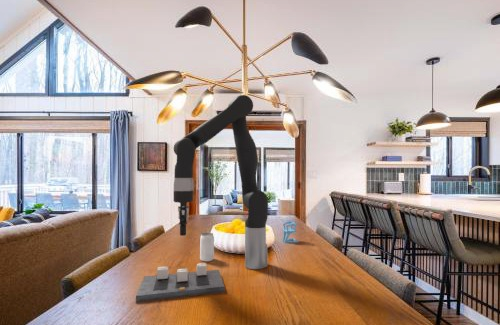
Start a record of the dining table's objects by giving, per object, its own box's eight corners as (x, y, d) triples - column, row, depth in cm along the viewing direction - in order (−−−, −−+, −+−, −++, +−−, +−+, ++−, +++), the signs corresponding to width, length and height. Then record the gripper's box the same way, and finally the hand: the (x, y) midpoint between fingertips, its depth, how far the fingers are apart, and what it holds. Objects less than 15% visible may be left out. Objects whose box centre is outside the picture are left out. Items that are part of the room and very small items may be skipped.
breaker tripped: (187, 278, 93) (187, 267, 93) (187, 280, 91) (187, 269, 91) (177, 279, 92) (177, 268, 92) (177, 281, 90) (177, 270, 90)
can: (211, 262, 117) (211, 235, 118) (197, 261, 118) (198, 235, 119) (215, 257, 124) (215, 232, 124) (203, 257, 125) (203, 232, 125)
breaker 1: (168, 275, 95) (168, 265, 95) (167, 278, 93) (167, 267, 93) (157, 276, 94) (158, 266, 94) (157, 279, 92) (157, 268, 92)
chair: (280, 240, 156) (280, 220, 157) (293, 239, 158) (293, 220, 159) (285, 243, 149) (285, 223, 150) (298, 242, 151) (298, 222, 152)
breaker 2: (206, 272, 98) (206, 262, 99) (206, 274, 96) (206, 264, 96) (196, 273, 98) (196, 262, 98) (196, 275, 95) (196, 265, 95)
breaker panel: (218, 274, 102) (218, 269, 102) (224, 292, 87) (224, 285, 87) (143, 281, 96) (144, 275, 96) (135, 302, 80) (135, 295, 80)
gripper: (193, 190, 94) (193, 237, 93) (192, 188, 108) (192, 229, 107) (172, 190, 92) (172, 239, 91) (174, 188, 106) (173, 230, 105)
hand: (183, 233), depth 99 cm, fingers open, 3 cm apart
